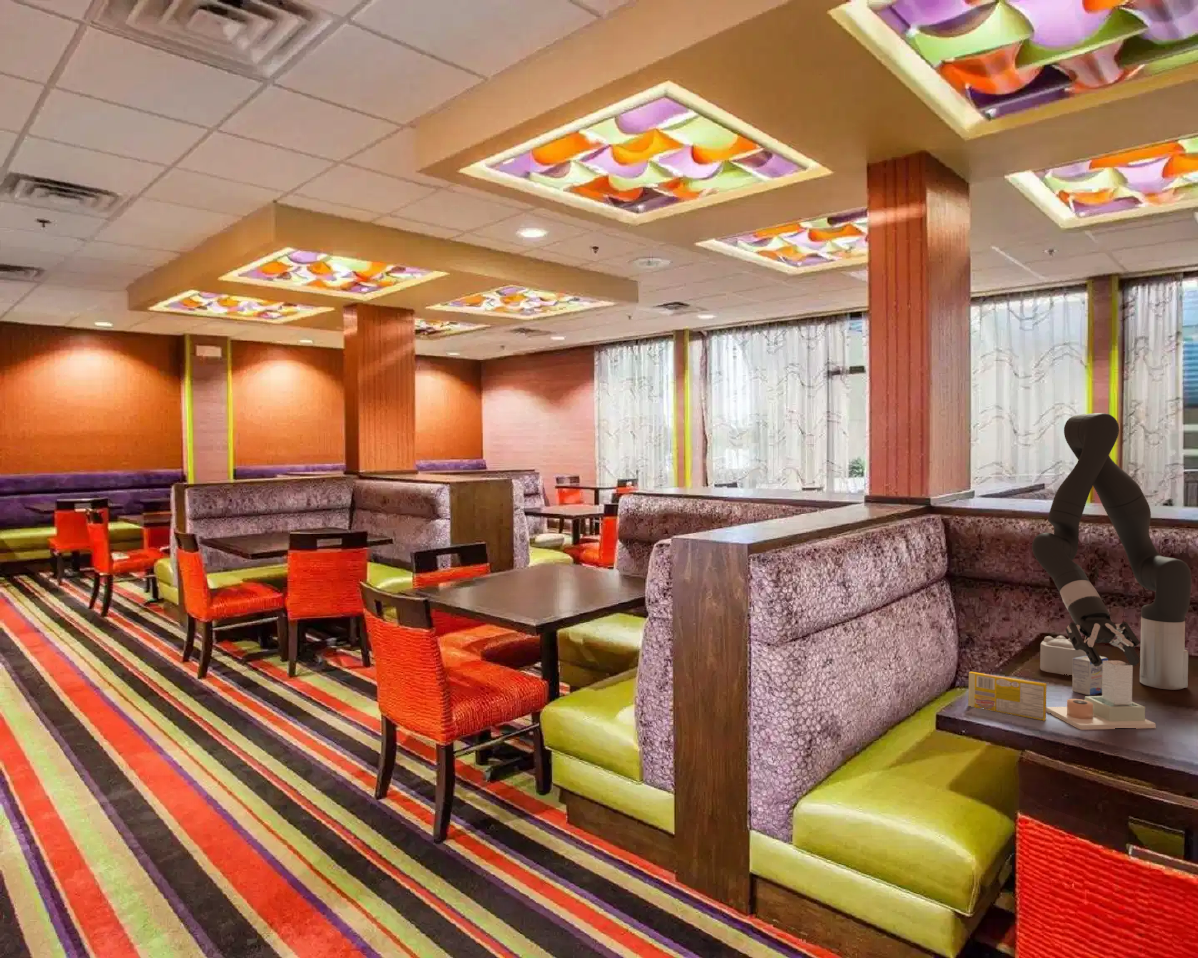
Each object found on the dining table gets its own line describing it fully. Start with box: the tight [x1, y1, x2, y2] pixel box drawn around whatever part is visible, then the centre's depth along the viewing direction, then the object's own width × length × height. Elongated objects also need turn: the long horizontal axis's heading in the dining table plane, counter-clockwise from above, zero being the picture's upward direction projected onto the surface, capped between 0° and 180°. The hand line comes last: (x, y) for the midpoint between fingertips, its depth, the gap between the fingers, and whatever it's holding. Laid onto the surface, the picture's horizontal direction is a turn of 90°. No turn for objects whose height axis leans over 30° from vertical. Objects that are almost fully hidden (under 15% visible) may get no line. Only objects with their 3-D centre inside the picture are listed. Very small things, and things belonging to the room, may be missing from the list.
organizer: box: [1046, 695, 1157, 731], centre depth 175 cm, size 17×12×4 cm
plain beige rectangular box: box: [1101, 660, 1134, 707], centre depth 175 cm, size 4×4×12 cm
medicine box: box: [1071, 655, 1109, 696], centre depth 196 cm, size 8×4×9 cm, turn 117°
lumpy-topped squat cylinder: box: [1039, 635, 1087, 676], centre depth 216 cm, size 10×13×9 cm
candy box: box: [967, 671, 1048, 722], centre depth 180 cm, size 16×2×8 cm, turn 50°
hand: (1117, 664), depth 174 cm, fingers open, 8 cm apart
